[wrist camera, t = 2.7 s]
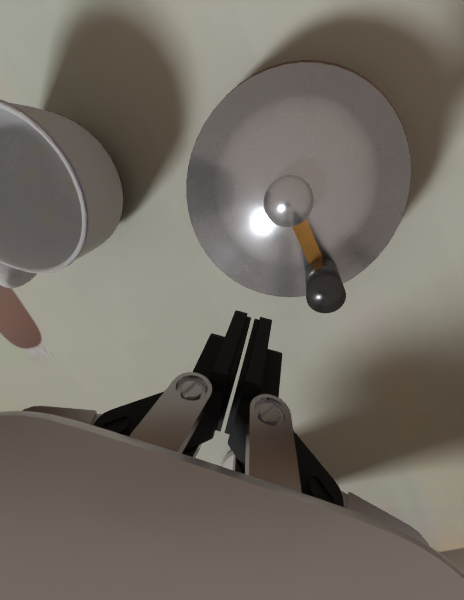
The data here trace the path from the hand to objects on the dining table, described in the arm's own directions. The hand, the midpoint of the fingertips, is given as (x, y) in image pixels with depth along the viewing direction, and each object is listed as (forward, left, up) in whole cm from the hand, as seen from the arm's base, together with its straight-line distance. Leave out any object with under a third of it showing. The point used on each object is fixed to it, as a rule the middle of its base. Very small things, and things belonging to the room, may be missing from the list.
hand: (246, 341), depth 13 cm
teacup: (+12, +14, -13) cm, 23 cm away
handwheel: (+4, -3, -11) cm, 12 cm away
